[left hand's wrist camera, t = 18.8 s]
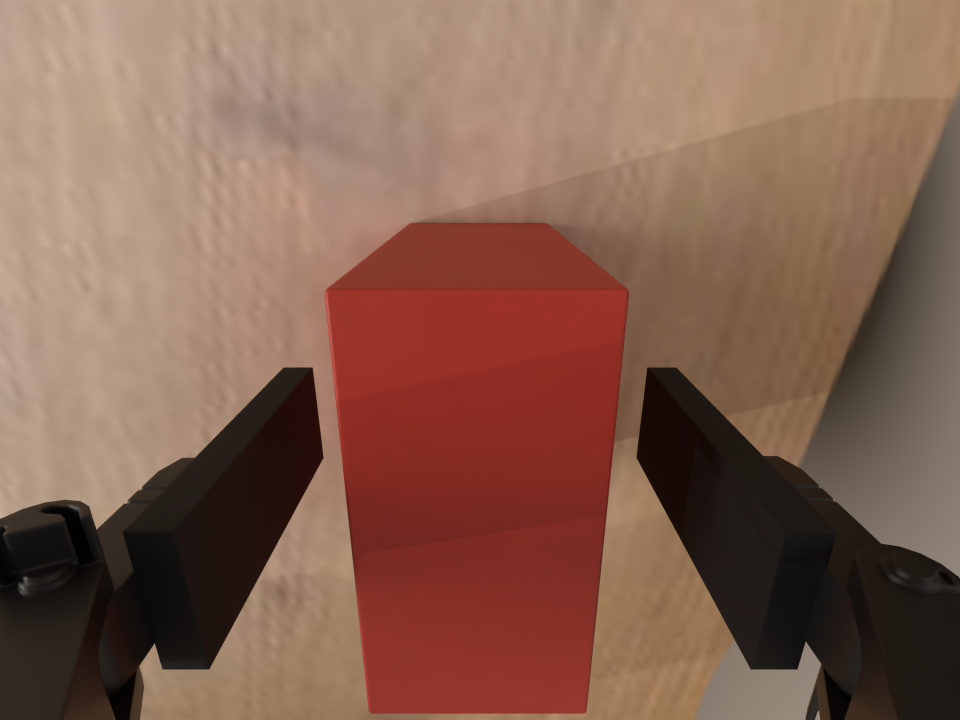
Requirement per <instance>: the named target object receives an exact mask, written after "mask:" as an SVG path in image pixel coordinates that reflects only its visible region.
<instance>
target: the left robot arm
mask: <svg viewBox="0 0 960 720" xmlns="http://www.w3.org/2000/svg"><path fill="white" fill-rule="evenodd" d="M322 460H323V450H322V441H321V433H320V425H319V417H318V408H317V400H316V392H315V383H314V375H313V368H283V369H282V370H281V371H280V372H279V373H278V374H277V375H276V376H275V377H274V378H273V379H272V380H271V381H270V382H269V383H268V384H267V385H266V386H265V387H264V388H263V389H262V390H261V391H260V392H259V393H258V394H257V395H256V396H255V397H254V398H253V399H252V400H251V401H250V403H249V404H248V405H247V406H246V407H245V408H244V409H243V410H242V411H241V412H240V413H239V414H238V415H237V416H236V417H235V418H234V419H233V420H232V421H231V422H230V423H229V424H228V425H227V426H226V427H225V428H224V429H223V430H222V431H221V432H220V433H219V434H218V435H217V436H216V437H215V438H214V439H213V440H212V441H211V442H210V443H209V444H208V445H207V446H206V447H205V448H204V449H203V450H202V451H201V452H200V453H199V454H198V455H197V456H196V457H195V458H181V459H180V460H178V461H176V462H174V463H173V464H171V465H169V466H167V467H165V468H164V469H162V470H160V471H158V472H157V473H156V474H155V475H154V476H153V477H152V478H151V479H150V480H149V481H148V482H147V483H146V484H145V485H144V486H142V490H138V491H137V492H136V493H135V494H134V495H133V496H132V497H131V498H130V499H129V500H128V503H127V504H123V505H122V506H121V507H120V508H119V509H118V510H117V511H116V512H115V513H114V514H113V515H112V516H111V517H110V518H109V519H107V520H106V521H105V522H104V523H103V524H102V525H101V526H100V527H99V528H98V529H97V530H96V527H95V524H94V521H93V517H92V514H91V511H90V508H89V506H87V505H86V504H84V503H82V502H81V501H72V500H61V501H53V502H46V503H42V504H39V505H35V506H32V507H28V508H25V509H22V510H20V511H17V512H15V513H13V514H11V515H8V516H6V517H4V518H1V519H0V720H140V714H141V706H142V698H143V691H144V684H143V678H142V674H141V670H140V667H139V665H140V664H141V662H142V661H143V660H144V658H145V657H146V655H147V654H148V652H149V651H150V649H151V648H152V646H153V645H154V643H155V645H156V649H157V652H158V655H159V659H160V662H161V666H162V669H210V667H211V665H212V663H213V661H214V659H215V658H216V656H217V654H218V652H219V650H220V648H221V646H222V645H223V643H224V641H225V639H226V637H227V635H228V634H229V632H230V630H231V628H232V626H233V624H234V622H235V621H236V619H237V617H238V615H239V613H240V611H241V609H242V608H243V606H244V604H245V602H246V600H247V598H248V597H249V595H250V593H251V591H252V589H253V587H254V585H255V584H256V582H257V580H258V578H259V576H260V574H261V572H262V571H263V569H264V567H265V565H266V563H267V561H268V560H269V558H270V556H271V554H272V552H273V550H274V548H275V547H276V545H277V543H278V541H279V539H280V537H281V535H282V534H283V532H284V530H285V528H286V526H287V524H288V522H289V521H290V519H291V517H292V515H293V513H294V511H295V510H296V508H297V506H298V504H299V502H300V500H301V498H302V497H303V495H304V493H305V491H306V489H307V487H308V485H309V484H310V482H311V480H312V478H313V476H314V474H315V473H316V471H317V469H318V467H319V465H320V463H321V461H322ZM637 460H638V461H639V463H640V465H641V467H642V469H643V471H644V473H645V474H646V476H647V478H648V480H649V482H650V484H651V485H652V487H653V489H654V491H655V493H656V495H657V497H658V498H659V500H660V502H661V504H662V506H663V508H664V510H665V511H666V513H667V515H668V517H669V519H670V521H671V522H672V524H673V526H674V528H675V530H676V532H677V534H678V535H679V537H680V539H681V541H682V543H683V545H684V547H685V548H686V550H687V552H688V554H689V556H690V558H691V559H692V561H693V563H694V565H695V567H696V569H697V571H698V572H699V574H700V576H701V578H702V580H703V582H704V584H705V585H706V587H707V589H708V591H709V593H710V595H711V597H712V598H713V600H714V602H715V604H716V606H717V608H718V609H719V611H720V613H721V615H722V617H723V619H724V621H725V622H726V624H727V626H728V628H729V630H730V632H731V634H732V635H733V637H734V639H735V641H736V643H737V645H738V646H739V648H740V650H741V652H742V654H743V656H744V658H745V659H746V661H747V663H748V665H749V667H750V669H798V665H799V662H800V659H801V655H802V652H803V648H804V645H805V642H807V644H808V645H809V647H810V648H811V649H812V651H813V652H814V654H815V655H816V657H817V658H818V660H819V661H820V662H821V667H820V670H819V674H818V677H817V680H816V683H815V686H814V690H813V693H812V696H811V699H810V702H809V706H808V709H807V714H806V720H815V718H816V714H817V712H818V711H819V713H820V720H960V578H959V577H958V576H957V575H955V574H954V573H953V572H951V571H950V570H949V569H947V568H946V567H944V566H943V565H942V564H940V563H938V562H936V561H934V560H932V559H930V558H928V557H926V556H924V555H922V554H920V553H917V552H914V551H911V550H908V549H905V548H902V547H899V546H892V545H886V544H881V543H880V542H879V541H878V540H877V539H875V538H874V537H873V536H872V535H871V534H870V533H869V532H868V531H867V530H866V529H865V528H864V527H863V526H862V525H861V524H859V523H858V522H857V521H856V520H855V519H854V518H853V517H852V516H851V515H850V514H849V513H848V512H847V511H846V510H845V509H843V508H842V507H841V506H840V505H839V504H838V503H837V502H833V498H832V497H831V496H830V495H829V494H827V493H826V492H825V491H824V490H823V489H822V488H819V485H818V484H817V483H816V482H815V481H814V480H812V479H811V478H810V477H809V476H808V475H807V474H806V473H805V472H804V471H803V470H802V469H800V468H798V467H796V466H795V465H793V464H791V463H789V462H787V461H786V460H784V459H782V458H780V457H778V456H763V455H762V454H761V453H760V452H759V451H758V450H757V449H756V448H755V447H754V446H753V445H752V444H751V443H750V442H749V441H748V440H747V439H746V438H745V437H744V436H743V435H742V434H741V433H740V432H739V431H738V430H737V429H736V428H735V427H734V426H733V425H732V424H731V423H730V422H729V421H728V420H727V419H726V418H725V417H724V416H723V415H722V414H721V413H720V412H719V411H718V410H717V409H716V408H715V407H714V406H713V405H712V404H711V402H710V401H709V400H708V399H707V398H706V397H705V396H704V395H703V394H702V393H701V392H700V391H699V390H698V389H697V388H696V387H695V386H694V385H693V384H692V383H691V382H690V381H689V380H688V379H687V378H686V377H685V376H684V375H683V374H682V373H681V372H680V371H679V370H678V369H677V368H647V375H646V384H645V392H644V400H643V408H642V417H641V425H640V433H639V441H638V450H637Z"/></svg>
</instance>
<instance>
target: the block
mask: <svg viewBox="0 0 960 720" xmlns="http://www.w3.org/2000/svg"><path fill="white" fill-rule="evenodd" d="M628 299H629V292H628V289H626V288H625V287H624V286H623V285H622V284H620V283H619V282H618V281H617V280H615V279H614V278H613V277H612V276H611V275H609V274H608V273H607V272H606V271H604V270H603V269H602V268H601V267H600V266H598V265H597V264H596V263H595V262H593V261H592V260H591V259H590V258H589V257H587V256H586V255H585V254H584V253H582V252H581V251H580V250H579V249H578V248H576V247H575V246H574V245H573V244H571V243H570V242H569V241H568V240H567V239H565V238H564V237H563V236H562V235H560V234H559V233H558V232H557V231H556V230H554V229H553V228H552V227H551V226H549V225H548V224H547V223H410V224H409V225H407V226H406V227H405V228H404V229H402V230H401V231H400V232H399V233H397V234H396V235H395V236H393V237H392V238H391V239H390V240H388V241H387V242H386V243H385V244H383V245H382V246H381V247H379V248H378V249H377V250H376V251H374V252H373V253H372V254H371V255H369V256H368V257H367V258H365V259H364V260H363V261H362V262H360V263H359V264H358V265H356V266H355V267H354V268H353V269H351V270H350V271H349V272H348V273H346V274H345V275H344V276H342V277H341V278H340V279H339V280H337V281H336V282H335V283H334V284H332V285H331V286H330V287H328V288H327V289H326V290H325V303H326V312H327V321H328V331H329V340H330V350H331V359H332V369H333V378H334V387H335V397H336V406H337V416H338V425H339V434H340V444H341V453H342V463H343V472H344V482H345V491H346V500H347V510H348V519H349V529H350V538H351V547H352V557H353V566H354V576H355V585H356V595H357V604H358V613H359V623H360V632H361V642H362V651H363V660H364V670H365V679H366V689H367V698H368V708H369V712H370V713H585V712H586V710H587V701H588V692H589V682H590V672H591V662H592V652H593V643H594V633H595V623H596V613H597V603H598V593H599V584H600V574H601V564H602V554H603V544H604V535H605V525H606V515H607V505H608V495H609V485H610V476H611V466H612V456H613V446H614V436H615V427H616V417H617V407H618V397H619V387H620V377H621V368H622V358H623V348H624V338H625V328H626V318H627V309H628Z"/></svg>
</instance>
